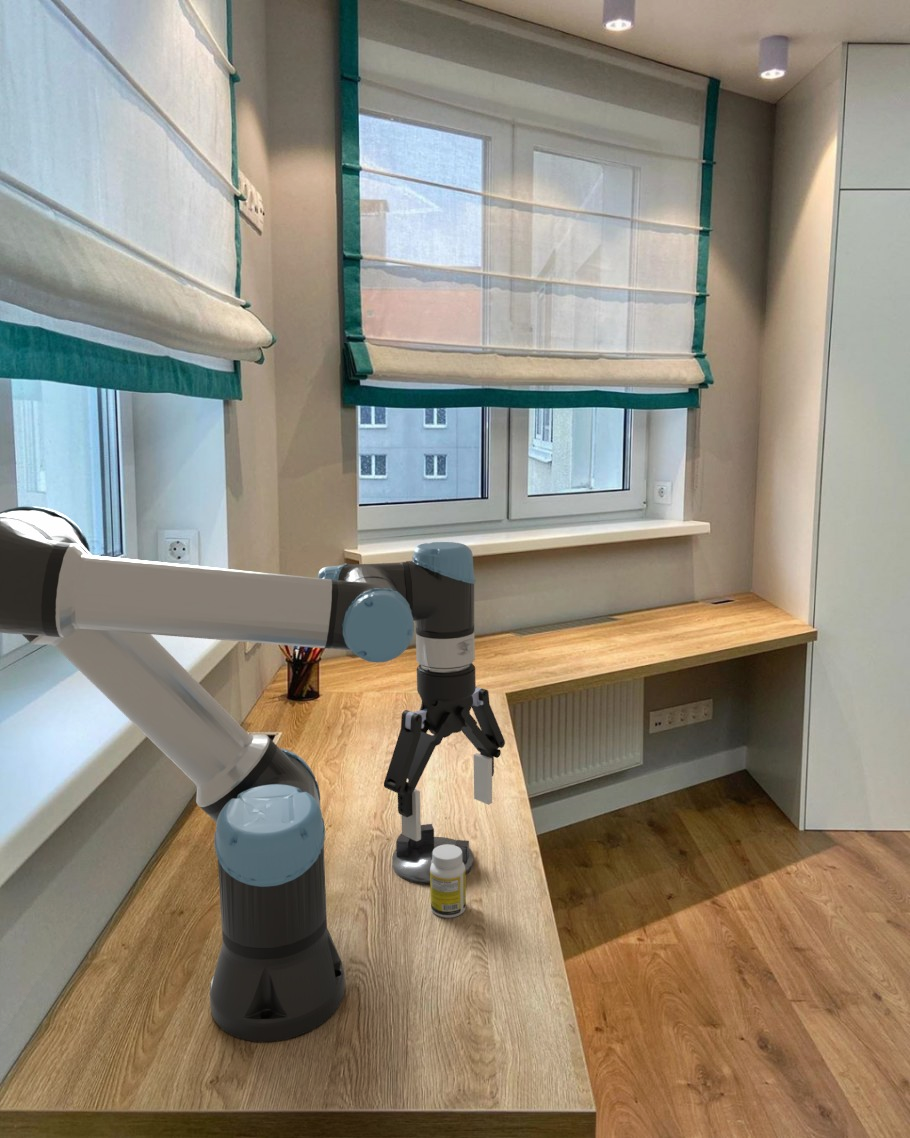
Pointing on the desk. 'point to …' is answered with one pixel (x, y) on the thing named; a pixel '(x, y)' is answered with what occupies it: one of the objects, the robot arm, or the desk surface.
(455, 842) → the toothed grey disc
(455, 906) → the supplement bottle
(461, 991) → the desk surface
